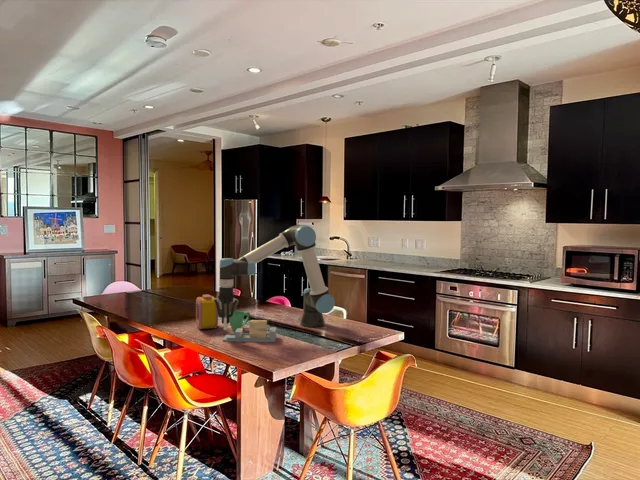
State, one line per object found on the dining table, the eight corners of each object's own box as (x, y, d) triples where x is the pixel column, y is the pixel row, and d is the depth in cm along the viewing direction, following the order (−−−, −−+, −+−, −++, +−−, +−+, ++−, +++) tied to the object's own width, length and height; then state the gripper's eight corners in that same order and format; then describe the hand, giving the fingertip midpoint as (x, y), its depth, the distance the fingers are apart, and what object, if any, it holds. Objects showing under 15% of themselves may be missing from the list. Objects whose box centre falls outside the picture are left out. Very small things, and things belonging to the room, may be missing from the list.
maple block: (250, 336, 253) (250, 320, 253) (266, 336, 254) (267, 320, 253) (249, 338, 248) (249, 322, 248) (265, 338, 249) (266, 322, 248)
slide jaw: (237, 334, 255) (237, 328, 255) (242, 334, 255) (242, 328, 255) (234, 338, 246) (234, 332, 246) (240, 338, 246) (240, 332, 246)
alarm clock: (195, 324, 282) (195, 293, 281) (213, 323, 286) (213, 292, 285) (199, 331, 265) (199, 298, 264) (218, 330, 269) (218, 297, 268)
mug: (234, 332, 265) (234, 315, 265) (224, 329, 272) (224, 312, 272) (254, 327, 276) (254, 311, 276) (244, 325, 283) (244, 309, 282)
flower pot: (239, 316, 306) (239, 301, 305) (221, 317, 303) (221, 302, 302) (237, 313, 317) (237, 298, 316) (221, 313, 314) (221, 299, 313)
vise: (226, 336, 256) (226, 326, 255) (276, 337, 256) (276, 327, 256) (222, 341, 246) (222, 331, 245) (274, 341, 246) (275, 331, 246)
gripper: (212, 287, 245) (212, 330, 246) (237, 287, 245) (236, 331, 246) (215, 285, 253) (214, 327, 254) (239, 285, 253) (238, 327, 254)
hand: (225, 329), depth 250 cm, fingers closed
